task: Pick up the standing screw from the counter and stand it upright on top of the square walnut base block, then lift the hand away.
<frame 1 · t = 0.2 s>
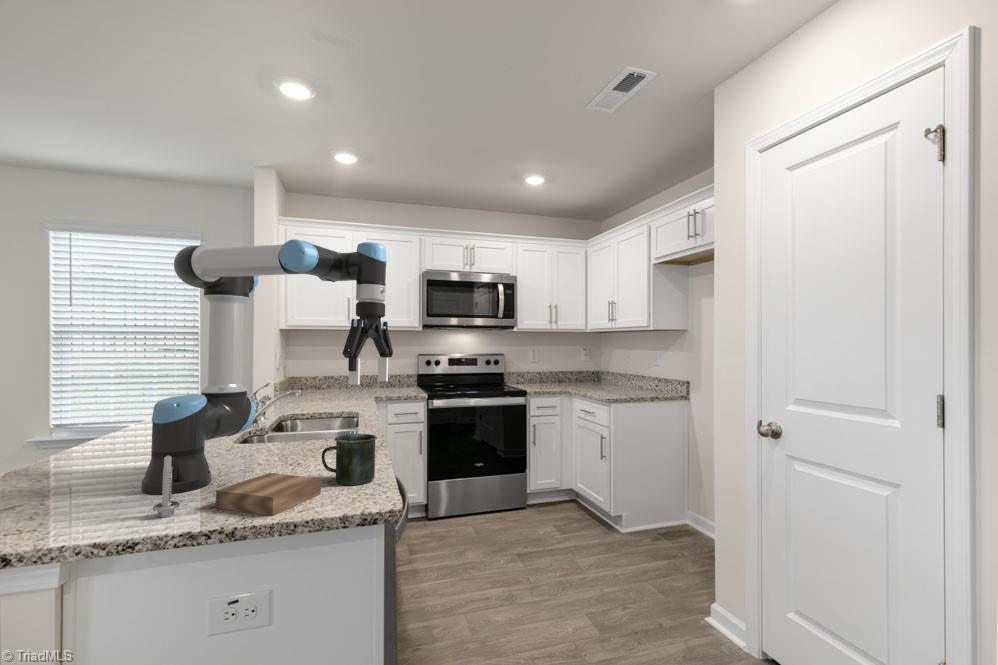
hand: (369, 382, 122), 28 cm above the countertop, tool pointing down, fingers open, 13 cm apart
base: (270, 500, 112), on the countertop
mug: (349, 482, 129), on the countertop
screw: (166, 516, 102), on the countertop
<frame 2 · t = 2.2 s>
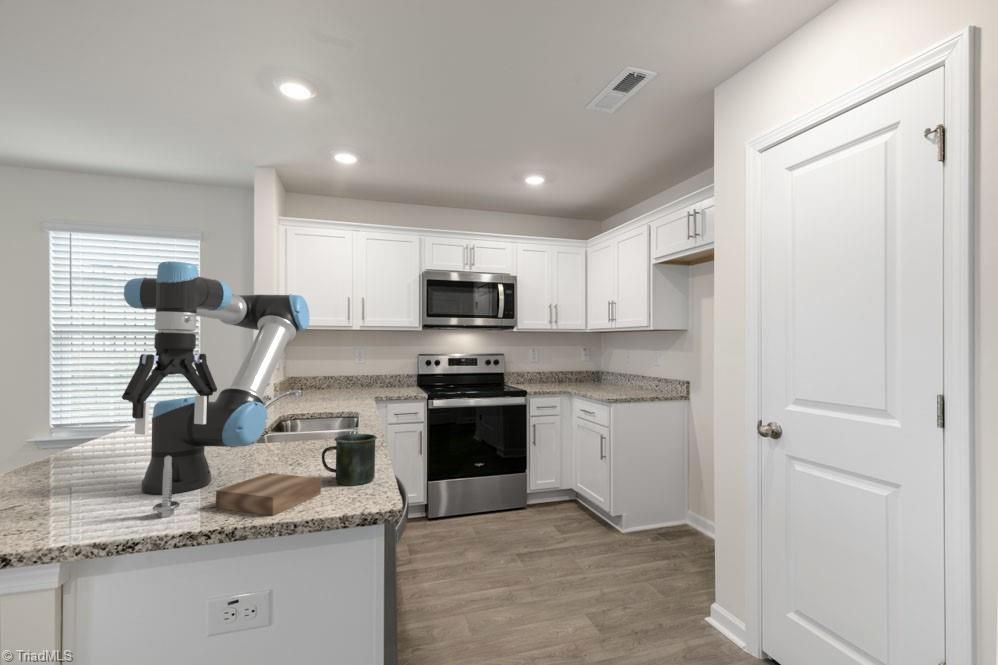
hand: (172, 428, 103), 19 cm above the countertop, tool pointing down, fingers open, 13 cm apart
nothing on the countertop moved.
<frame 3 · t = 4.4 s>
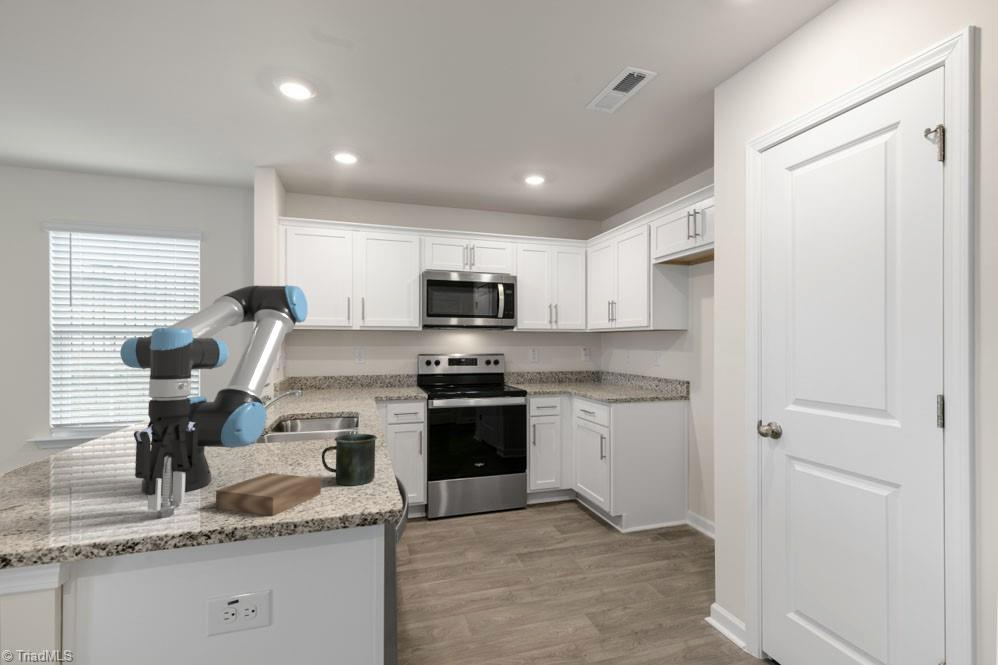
hand: (166, 505, 102), 2 cm above the countertop, tool pointing down, fingers closed on screw, 5 cm apart
screw: (165, 516, 102), on the countertop, touching gripper
everything else where it was.
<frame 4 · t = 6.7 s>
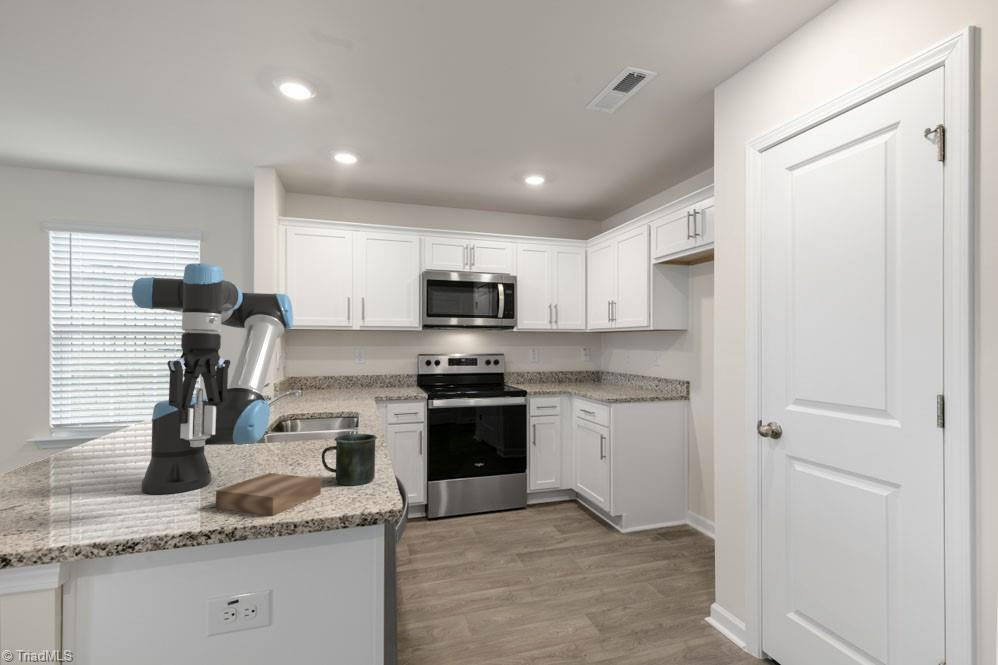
hand: (198, 435, 105), 17 cm above the countertop, tool pointing down, fingers closed on screw, 5 cm apart
screw: (197, 446, 105), point 14 cm above the countertop, touching gripper
everything else where it was.
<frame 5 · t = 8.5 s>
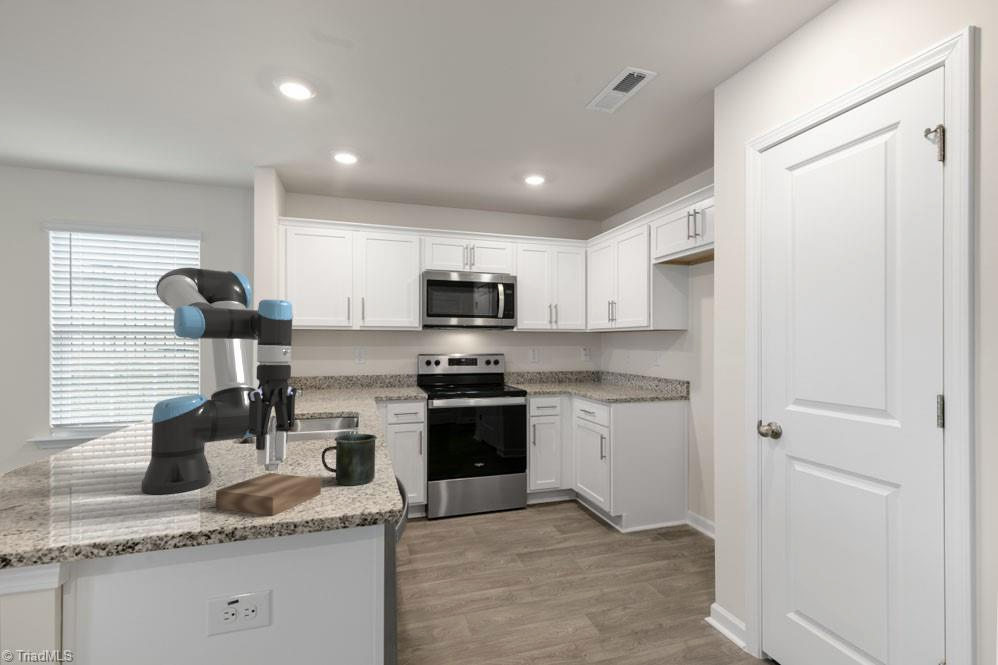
hand: (271, 460, 112), 10 cm above the countertop, tool pointing down, fingers closed on screw, 5 cm apart
screw: (271, 470, 112), point 7 cm above the countertop, touching gripper
everything else where it was.
when the fingers open (8 cm above the countertop, at t = 9.1 s): screw drops 1 cm, resting on base.
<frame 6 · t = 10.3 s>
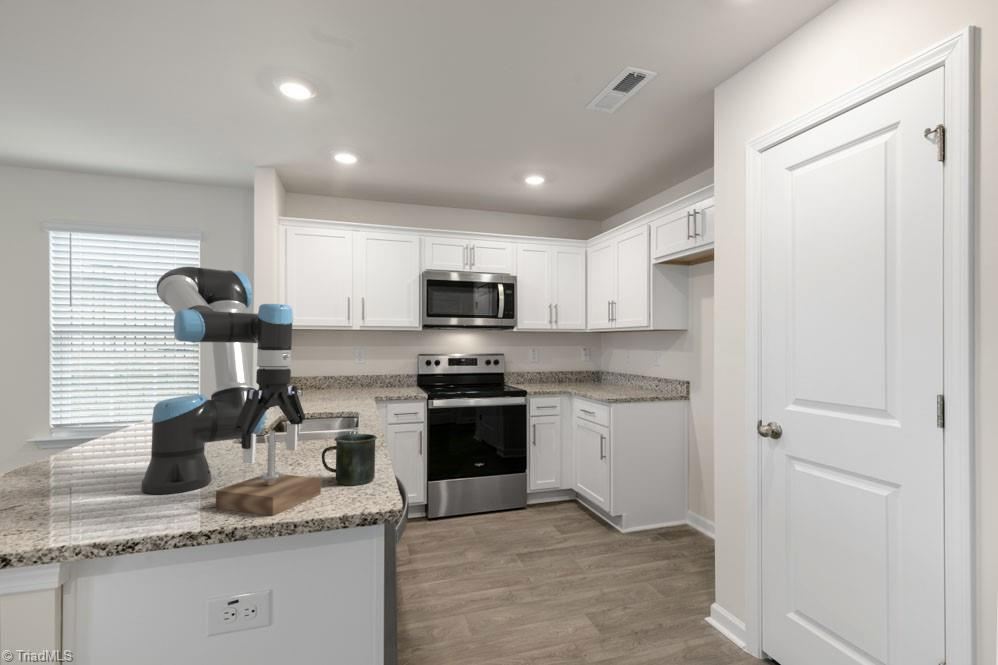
hand: (271, 456, 112), 11 cm above the countertop, tool pointing down, fingers open, 13 cm apart
screw: (270, 484, 112), point 4 cm above the countertop, touching base
everything else where it was.
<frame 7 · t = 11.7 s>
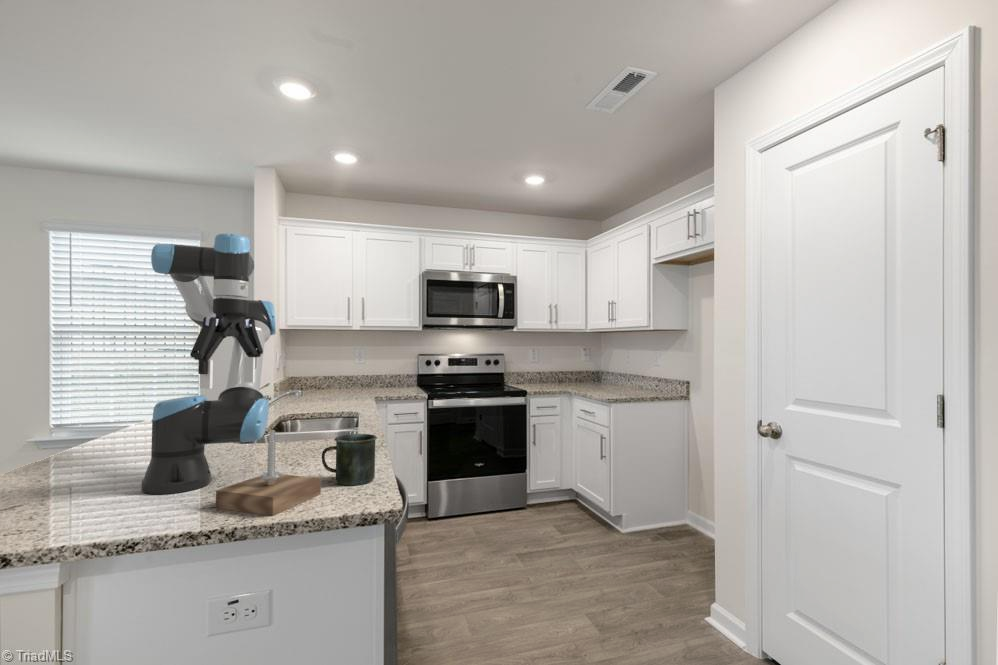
hand: (228, 385, 114), 27 cm above the countertop, tool pointing down, fingers open, 13 cm apart
nothing on the countertop moved.
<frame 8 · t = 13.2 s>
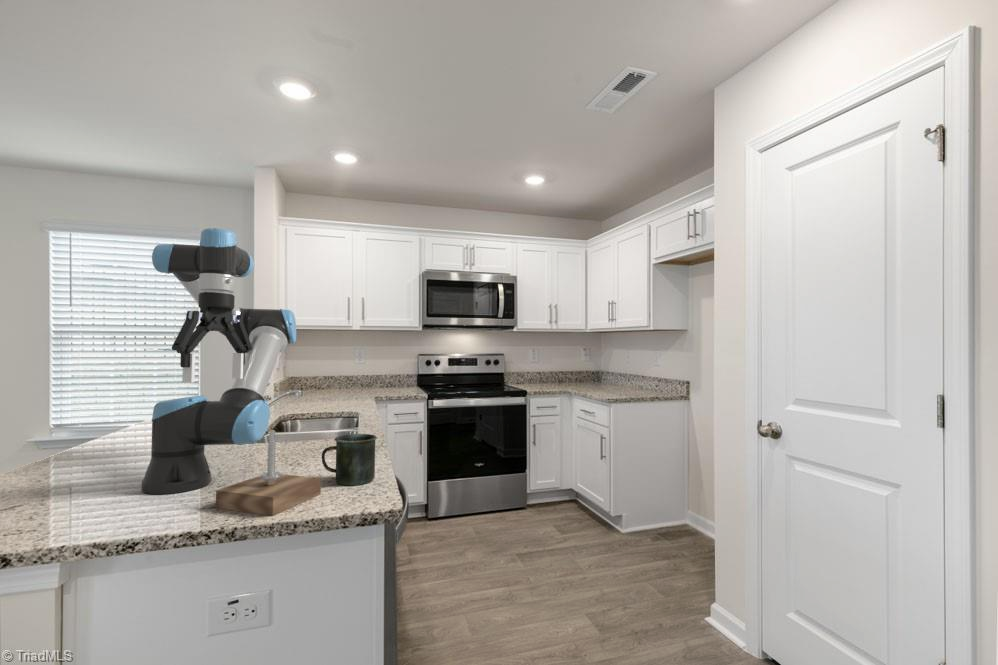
hand: (214, 380, 113), 29 cm above the countertop, tool pointing down, fingers open, 13 cm apart
nothing on the countertop moved.
at the end: screw inside the target area on the base (0.0 cm from its centre), point 3.8 cm above the base's base; screw tilted 0°; the gripper is holding nothing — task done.
